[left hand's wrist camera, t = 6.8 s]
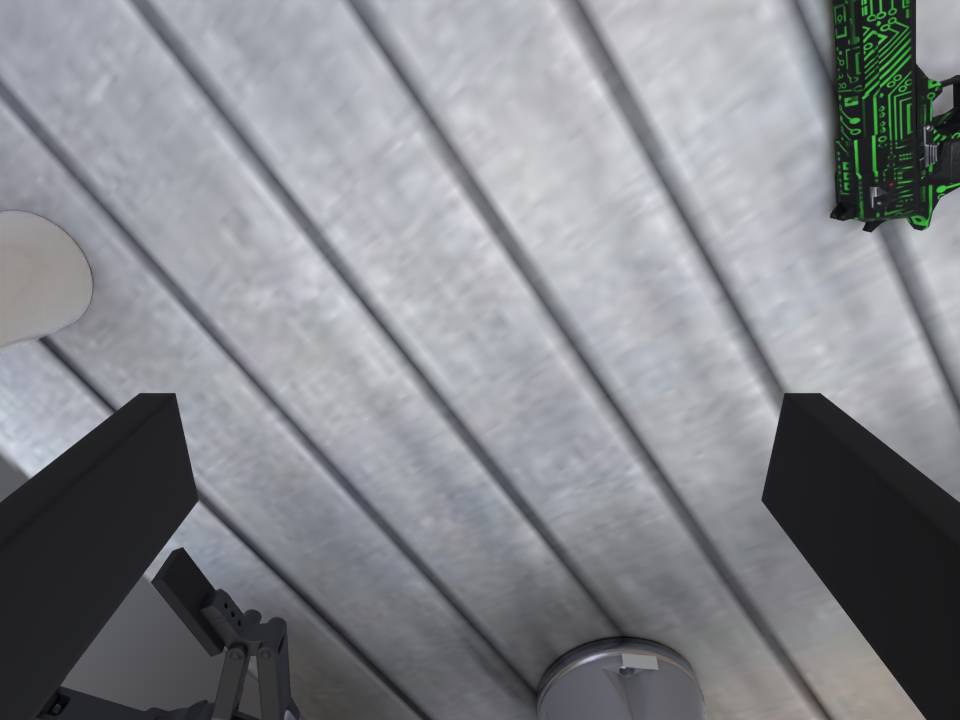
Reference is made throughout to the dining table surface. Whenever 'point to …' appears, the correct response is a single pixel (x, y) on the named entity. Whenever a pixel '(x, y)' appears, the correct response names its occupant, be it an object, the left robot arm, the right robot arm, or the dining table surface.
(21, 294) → the jar
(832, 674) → the dining table surface
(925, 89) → the handgun
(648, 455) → the dining table surface
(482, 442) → the dining table surface
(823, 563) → the left robot arm
